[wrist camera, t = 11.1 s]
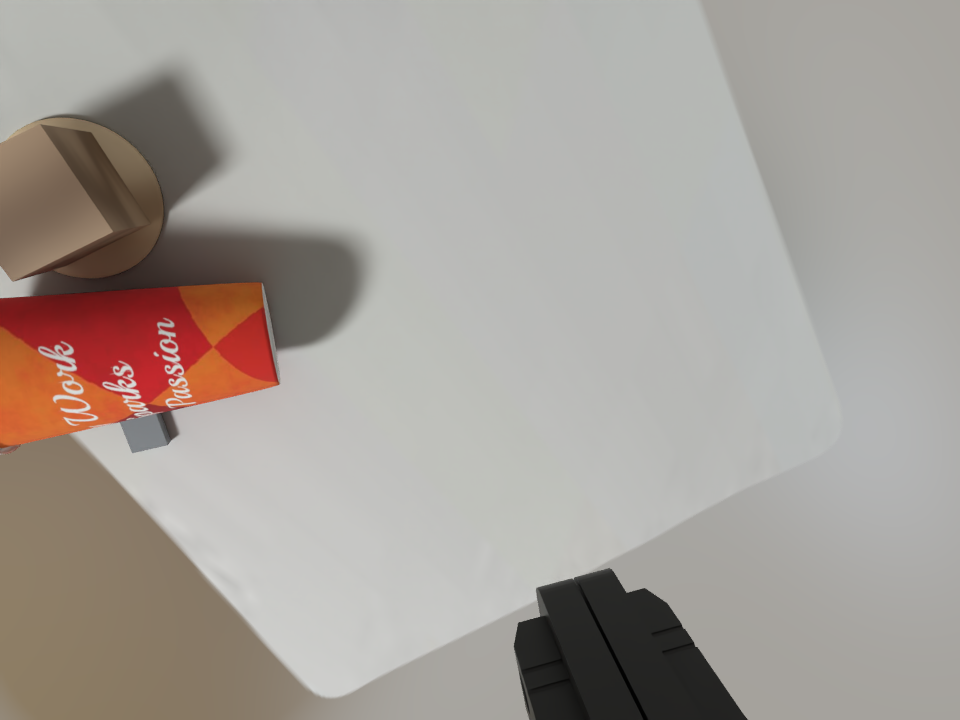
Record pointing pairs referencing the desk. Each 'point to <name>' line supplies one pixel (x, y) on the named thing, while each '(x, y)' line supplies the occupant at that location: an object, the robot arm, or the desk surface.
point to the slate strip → (145, 432)
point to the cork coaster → (141, 187)
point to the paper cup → (128, 355)
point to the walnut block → (59, 201)
